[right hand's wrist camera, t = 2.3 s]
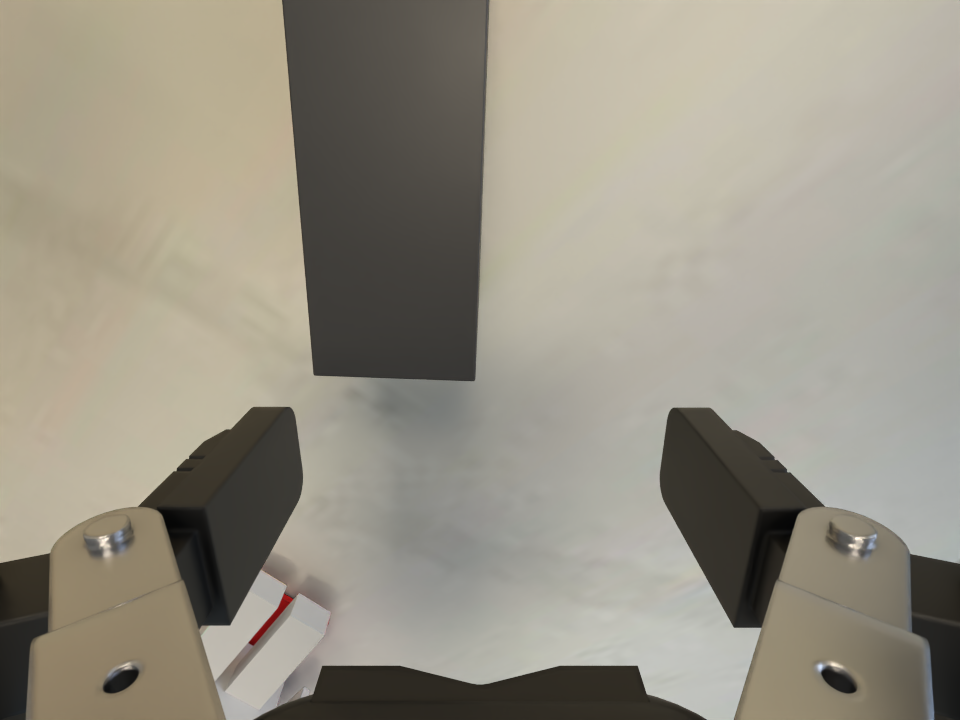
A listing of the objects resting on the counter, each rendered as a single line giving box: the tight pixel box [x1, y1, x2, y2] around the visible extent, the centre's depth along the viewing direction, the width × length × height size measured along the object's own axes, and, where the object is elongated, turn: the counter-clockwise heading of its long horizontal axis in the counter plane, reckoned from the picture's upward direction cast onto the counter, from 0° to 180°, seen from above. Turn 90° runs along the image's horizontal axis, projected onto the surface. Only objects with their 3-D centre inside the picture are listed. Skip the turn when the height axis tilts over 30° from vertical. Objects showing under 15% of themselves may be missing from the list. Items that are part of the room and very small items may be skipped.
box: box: [282, 0, 489, 381], centre depth 22 cm, size 21×6×12 cm, turn 178°
